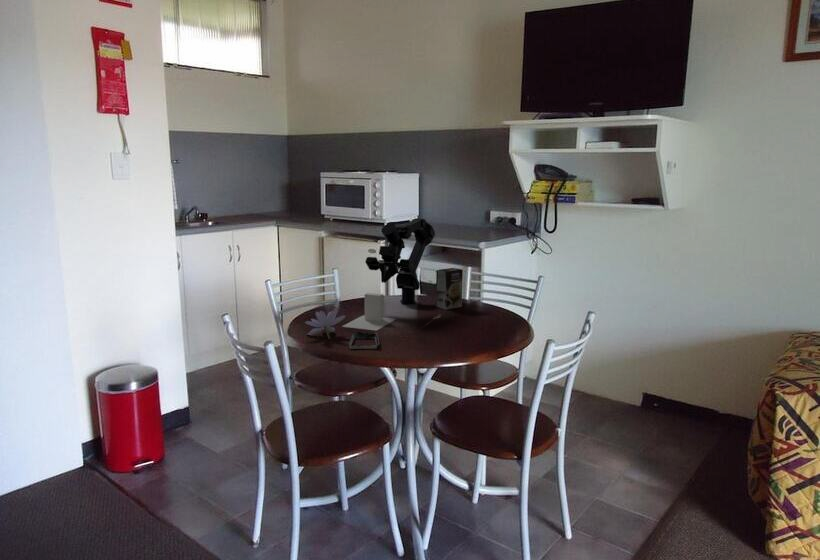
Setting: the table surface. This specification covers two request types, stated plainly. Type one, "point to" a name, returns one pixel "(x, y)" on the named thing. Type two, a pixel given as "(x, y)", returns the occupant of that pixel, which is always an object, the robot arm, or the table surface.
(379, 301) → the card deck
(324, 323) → the water lily
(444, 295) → the coffee box
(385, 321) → the mat
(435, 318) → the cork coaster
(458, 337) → the table surface
